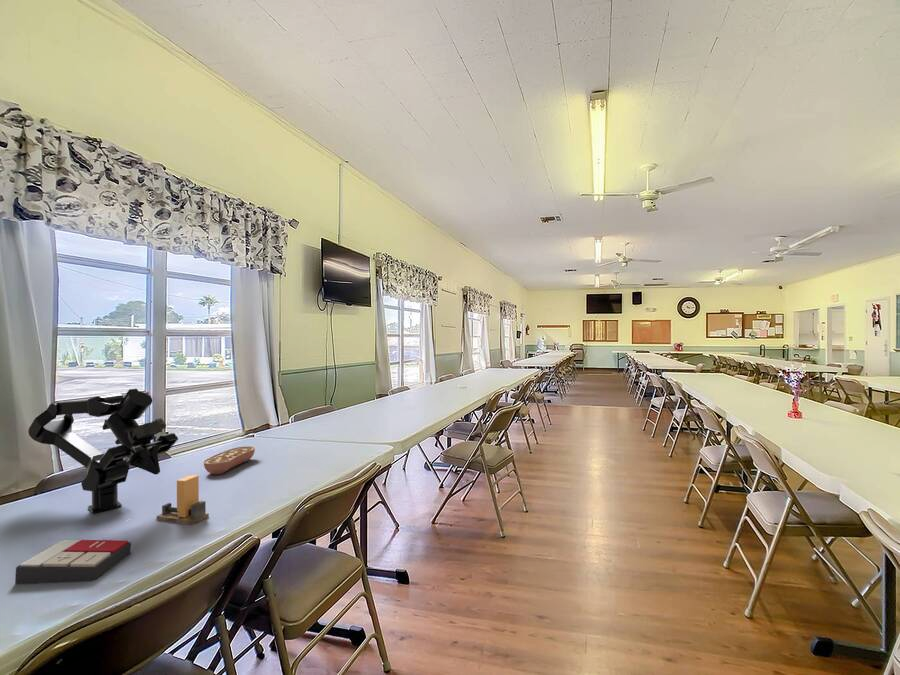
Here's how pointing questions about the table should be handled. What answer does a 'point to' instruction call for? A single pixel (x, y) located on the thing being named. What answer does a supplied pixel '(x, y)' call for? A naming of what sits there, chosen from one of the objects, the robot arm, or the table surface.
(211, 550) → the table surface
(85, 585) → the table surface
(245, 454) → the brown oval piece
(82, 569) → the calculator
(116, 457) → the robot arm
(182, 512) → the orange slab
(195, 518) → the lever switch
